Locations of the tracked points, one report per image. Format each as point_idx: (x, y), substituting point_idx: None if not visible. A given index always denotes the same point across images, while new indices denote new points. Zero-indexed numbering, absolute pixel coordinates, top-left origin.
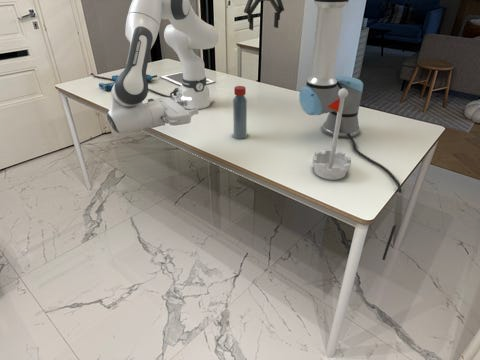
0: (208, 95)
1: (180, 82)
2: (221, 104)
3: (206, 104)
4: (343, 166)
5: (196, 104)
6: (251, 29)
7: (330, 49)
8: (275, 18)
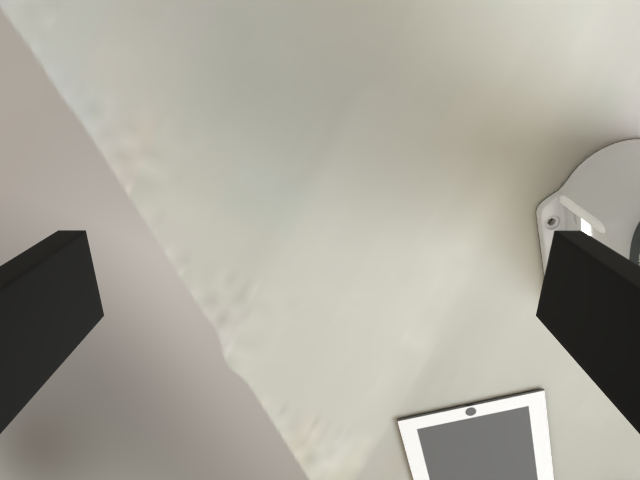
0: (593, 195)
1: (531, 460)
2: (520, 157)
3: (607, 155)
4: None
5: None
6: (585, 240)
7: None
8: (1, 375)
